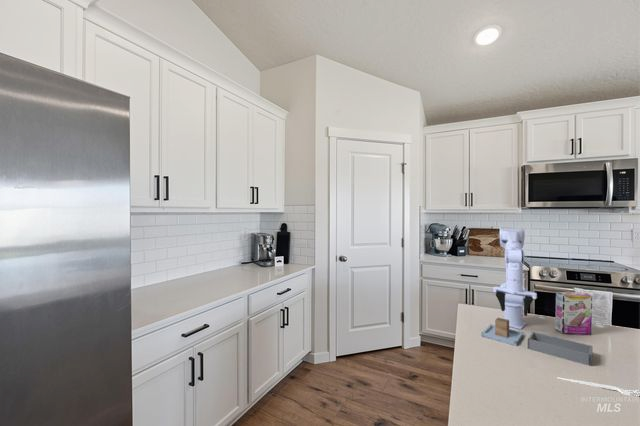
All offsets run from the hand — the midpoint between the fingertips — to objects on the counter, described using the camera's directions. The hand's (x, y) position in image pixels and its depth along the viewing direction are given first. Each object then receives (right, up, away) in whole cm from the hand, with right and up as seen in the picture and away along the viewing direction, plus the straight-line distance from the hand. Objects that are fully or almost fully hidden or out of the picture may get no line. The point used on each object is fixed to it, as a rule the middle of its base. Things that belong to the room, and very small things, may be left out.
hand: (514, 312), depth 117 cm
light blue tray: (-4, -10, +1) cm, 11 cm away
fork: (+3, -11, -33) cm, 35 cm away
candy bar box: (+28, -10, +4) cm, 30 cm away
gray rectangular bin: (+8, -10, -13) cm, 18 cm away
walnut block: (-4, -9, +1) cm, 10 cm away
